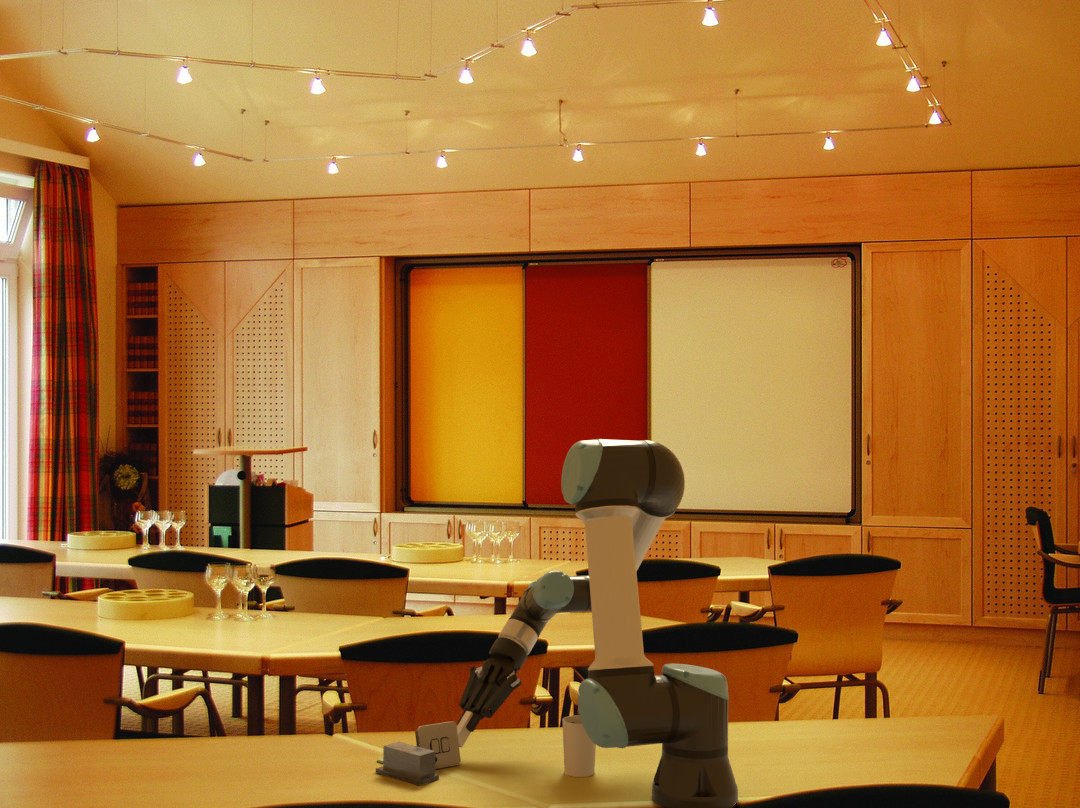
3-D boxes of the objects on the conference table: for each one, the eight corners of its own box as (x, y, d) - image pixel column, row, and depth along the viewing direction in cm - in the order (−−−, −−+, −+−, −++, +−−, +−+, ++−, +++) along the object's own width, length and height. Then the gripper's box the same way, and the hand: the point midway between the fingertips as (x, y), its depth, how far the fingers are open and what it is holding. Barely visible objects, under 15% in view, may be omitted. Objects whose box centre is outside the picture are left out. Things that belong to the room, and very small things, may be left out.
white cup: (567, 778, 203) (568, 724, 203) (557, 768, 209) (558, 716, 210) (601, 776, 205) (601, 722, 205) (590, 766, 211) (590, 714, 211)
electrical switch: (423, 772, 206) (422, 727, 207) (412, 768, 210) (411, 725, 211) (461, 765, 211) (460, 722, 212) (450, 762, 214) (448, 719, 215)
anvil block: (438, 779, 202) (439, 752, 202) (419, 785, 198) (419, 758, 198) (395, 766, 209) (395, 740, 210) (375, 772, 206) (376, 746, 206)
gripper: (544, 661, 225) (489, 760, 212) (498, 653, 233) (442, 747, 220) (528, 639, 221) (470, 738, 208) (481, 631, 230) (423, 726, 216)
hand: (456, 742), depth 214 cm, fingers closed
